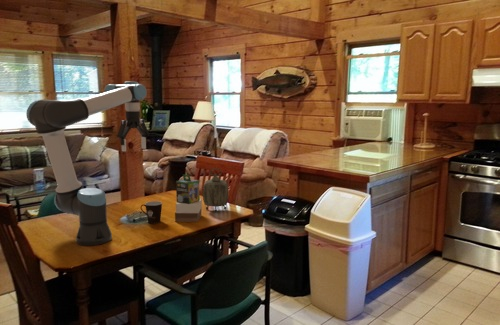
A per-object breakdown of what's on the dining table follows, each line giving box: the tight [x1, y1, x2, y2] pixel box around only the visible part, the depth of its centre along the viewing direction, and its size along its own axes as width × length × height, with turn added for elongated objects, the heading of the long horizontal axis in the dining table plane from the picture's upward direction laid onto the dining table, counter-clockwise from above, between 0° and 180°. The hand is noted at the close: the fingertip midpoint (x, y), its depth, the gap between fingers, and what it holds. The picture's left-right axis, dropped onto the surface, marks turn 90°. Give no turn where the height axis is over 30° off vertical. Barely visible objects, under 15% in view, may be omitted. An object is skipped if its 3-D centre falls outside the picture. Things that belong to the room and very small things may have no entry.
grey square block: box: [174, 209, 202, 223], centre depth 211 cm, size 12×12×5 cm
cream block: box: [175, 198, 203, 213], centre depth 210 cm, size 12×12×5 cm
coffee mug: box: [139, 200, 163, 224], centre depth 205 cm, size 12×9×10 cm
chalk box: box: [175, 173, 201, 204], centre depth 208 cm, size 9×9×15 cm
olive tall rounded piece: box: [202, 168, 229, 213], centre depth 223 cm, size 14×9×25 cm, turn 92°
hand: (134, 150), depth 211 cm, fingers open, 13 cm apart
